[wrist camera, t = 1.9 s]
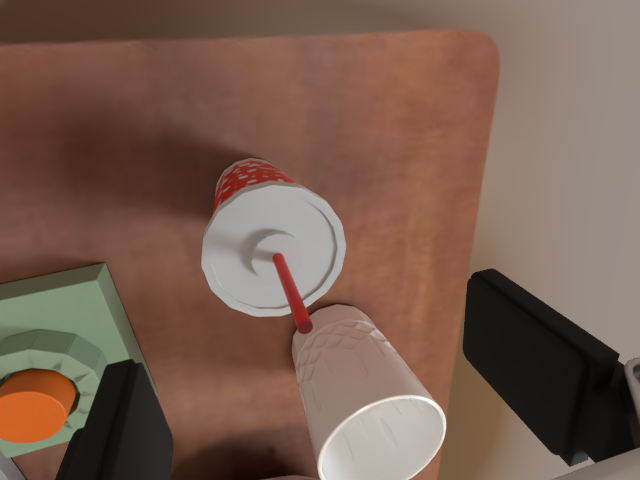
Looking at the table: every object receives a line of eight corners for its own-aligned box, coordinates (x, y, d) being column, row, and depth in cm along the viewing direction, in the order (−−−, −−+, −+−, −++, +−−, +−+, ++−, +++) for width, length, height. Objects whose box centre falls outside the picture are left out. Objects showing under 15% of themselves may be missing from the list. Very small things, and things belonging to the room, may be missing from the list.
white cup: (267, 326, 28) (296, 442, 19) (362, 280, 29) (432, 372, 20) (305, 392, 32) (343, 516, 23) (388, 350, 32) (456, 454, 23)
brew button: (-13, 379, 20) (-32, 404, 18) (61, 360, 21) (49, 383, 19) (17, 425, 22) (3, 452, 20) (85, 406, 22) (76, 431, 21)
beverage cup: (314, 213, 25) (419, 346, 13) (232, 254, 25) (260, 434, 13) (275, 127, 22) (362, 195, 10) (182, 173, 22) (152, 302, 10)
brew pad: (-68, 297, 21) (-122, 343, 17) (105, 262, 23) (87, 297, 19) (21, 430, 26) (-8, 487, 22) (158, 392, 28) (151, 439, 24)
